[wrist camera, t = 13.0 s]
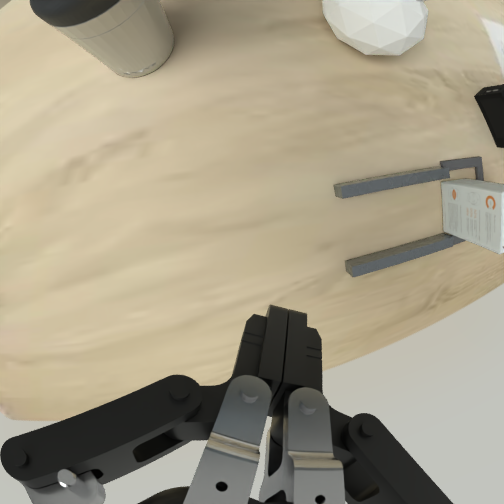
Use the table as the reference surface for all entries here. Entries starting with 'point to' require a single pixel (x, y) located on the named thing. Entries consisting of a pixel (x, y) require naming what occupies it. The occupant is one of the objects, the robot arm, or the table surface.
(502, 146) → the digital camera
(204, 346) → the table surface
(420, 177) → the grey u-shaped frame
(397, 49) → the geodesic sphere
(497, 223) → the small box
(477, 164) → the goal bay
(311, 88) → the table surface
